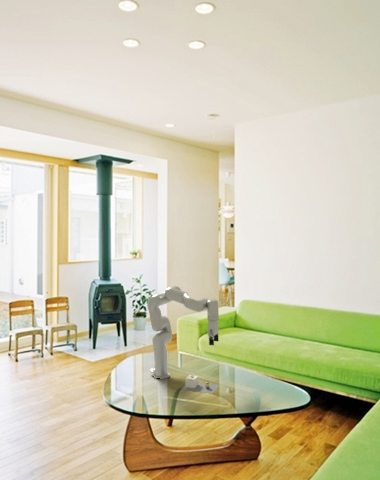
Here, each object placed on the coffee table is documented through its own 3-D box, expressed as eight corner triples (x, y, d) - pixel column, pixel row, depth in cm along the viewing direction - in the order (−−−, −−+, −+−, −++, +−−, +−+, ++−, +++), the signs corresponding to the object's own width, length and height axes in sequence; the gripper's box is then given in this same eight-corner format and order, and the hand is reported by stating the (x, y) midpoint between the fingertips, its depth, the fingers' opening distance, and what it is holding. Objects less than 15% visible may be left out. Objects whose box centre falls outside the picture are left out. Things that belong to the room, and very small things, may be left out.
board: (180, 391, 260) (180, 389, 260) (189, 382, 274) (189, 381, 274) (212, 395, 251) (212, 393, 251) (219, 386, 265) (219, 385, 265)
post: (205, 388, 260) (204, 382, 260) (206, 387, 262) (206, 380, 262) (208, 389, 259) (208, 382, 259) (210, 387, 261) (209, 381, 261)
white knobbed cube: (185, 387, 263) (185, 376, 263) (189, 383, 269) (189, 373, 269) (194, 388, 261) (194, 377, 261) (198, 384, 267) (198, 374, 267)
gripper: (212, 315, 278) (212, 339, 279) (203, 320, 262) (204, 346, 263) (222, 315, 275) (223, 340, 276) (214, 321, 259) (215, 347, 260)
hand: (213, 343), depth 269 cm, fingers open, 9 cm apart
